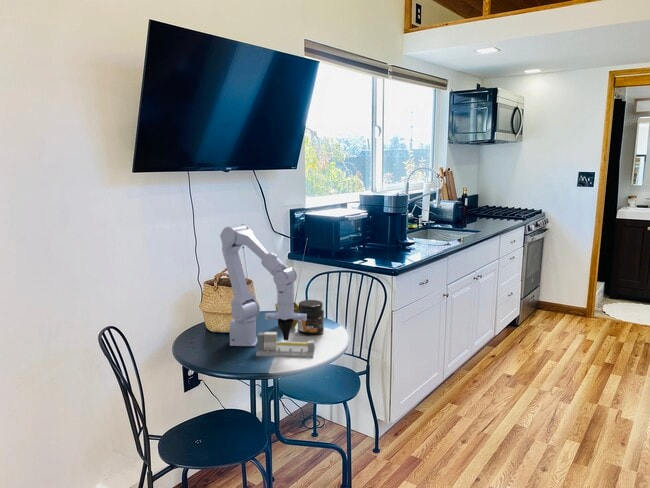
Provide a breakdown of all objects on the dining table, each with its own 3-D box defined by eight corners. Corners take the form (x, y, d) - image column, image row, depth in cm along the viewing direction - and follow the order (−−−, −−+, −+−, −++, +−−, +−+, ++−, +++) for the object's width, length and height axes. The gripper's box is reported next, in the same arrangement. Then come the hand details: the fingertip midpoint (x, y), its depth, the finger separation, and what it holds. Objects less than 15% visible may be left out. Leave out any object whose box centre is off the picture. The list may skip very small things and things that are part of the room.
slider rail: (255, 356, 171) (255, 338, 170) (260, 346, 180) (260, 329, 179) (313, 357, 170) (313, 339, 169) (315, 347, 179) (315, 330, 178)
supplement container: (294, 335, 191) (294, 305, 189) (301, 326, 202) (301, 298, 200) (320, 337, 189) (320, 307, 187) (326, 328, 199) (326, 300, 197)
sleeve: (263, 349, 174) (263, 334, 173) (265, 346, 177) (265, 331, 176) (276, 350, 174) (276, 334, 173) (277, 347, 177) (277, 331, 176)
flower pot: (300, 329, 199) (300, 307, 197) (279, 331, 197) (278, 309, 195) (295, 322, 207) (295, 301, 206) (275, 324, 205) (275, 303, 203)
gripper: (262, 305, 169) (263, 342, 171) (305, 305, 168) (305, 343, 170) (266, 299, 175) (267, 335, 178) (307, 300, 175) (307, 336, 177)
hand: (286, 339), depth 174 cm, fingers closed
